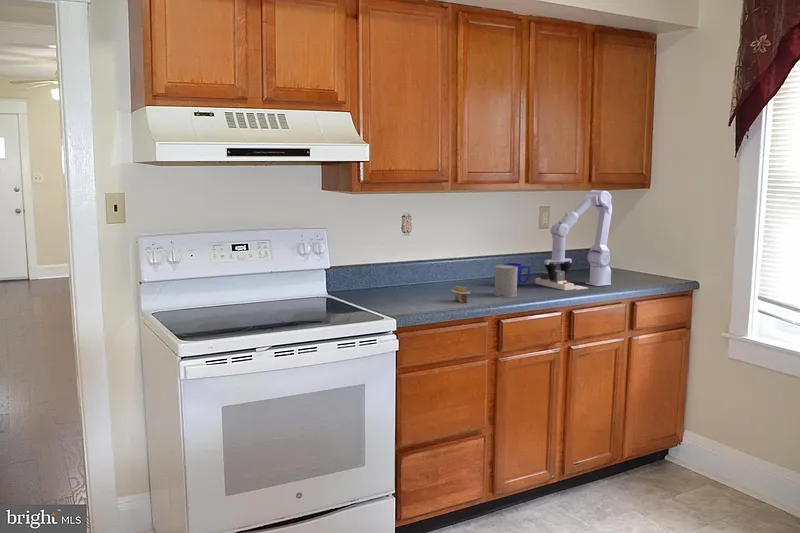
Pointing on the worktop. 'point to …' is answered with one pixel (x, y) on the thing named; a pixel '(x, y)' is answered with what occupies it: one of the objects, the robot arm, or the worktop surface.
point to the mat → (579, 287)
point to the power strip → (559, 285)
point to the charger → (559, 276)
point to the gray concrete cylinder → (506, 280)
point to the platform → (461, 293)
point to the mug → (519, 271)
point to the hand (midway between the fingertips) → (557, 279)
